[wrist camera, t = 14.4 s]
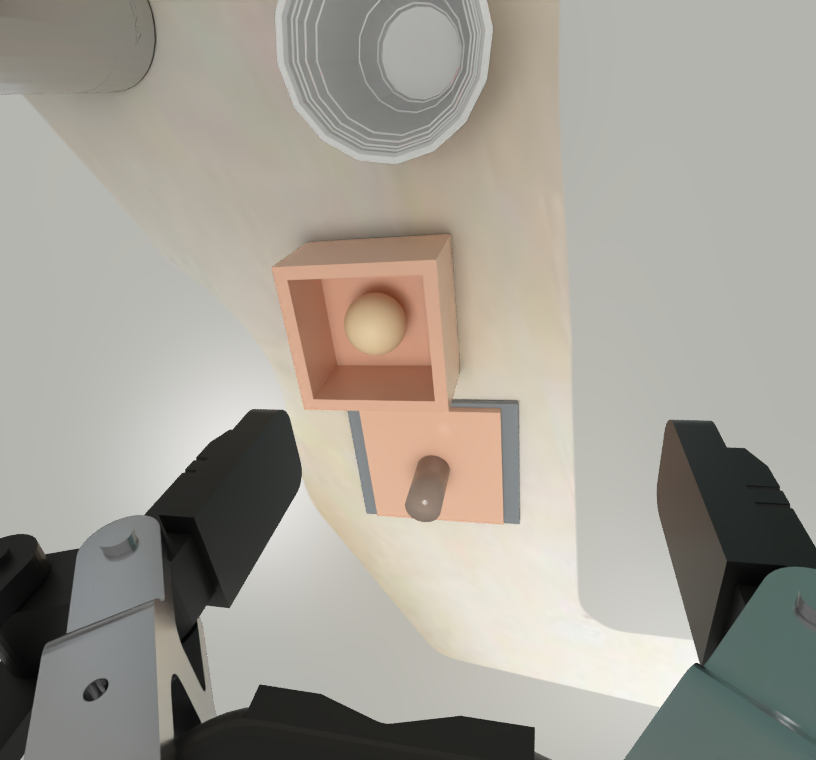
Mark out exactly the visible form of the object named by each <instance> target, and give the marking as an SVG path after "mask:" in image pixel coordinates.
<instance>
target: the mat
mask: <svg viewBox="0 0 816 760" xmlns="http://www.w3.org/2000/svg"><path fill="white" fill-rule="evenodd" d="M451 407H469V408H501V429H502V464H503V499H504V523H511V524H519V523H520V508H519V408H518V401H504V400H452V403H451ZM348 416H349V421H350V427H351V432H352V437H353V443H354V448H355V453H356V459H357V464H358V469H359V475H360V480H361V486H362V491H363V496H364V502H365V507H366V512H367V514H377V510H376V504H375V498H374V493H373V487H372V481H371V476H370V470H369V464H368V459H367V453H366V447H365V441H364V436H363V430H362V424H361V419H360V413H359V411H348Z"/></svg>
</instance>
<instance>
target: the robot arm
mask: <svg viewBox="0 0 816 760" xmlns="http://www.w3.org/2000/svg"><path fill="white" fill-rule="evenodd" d="M154 44H155V37H154V24H153V19H152V14H151V10H150V7H149V4H148V1H147V0H0V95H3V94H43V93H88V92H115V91H123V90H126V89H128V88H131V87H133V86H134V85H136V84H137V83H138V82H139V81H140V80H141V79H142V78H143V77H144V75H145V74H146V72H147V70H148V69H149V66H150V63H151V60H152V57H153V51H154ZM301 477H302V468H301V462H300V458H299V454H298V450H297V446H296V442H295V438H294V434H293V430H292V426H291V422H290V418H289V416H288V414H287V412H286V411H284V410H267V409H252V410H250V411H249V412H248V413H247V414H246V415H245V416H244V417H243V418H242V420H241V421H240V422H239V423H238V424H237V425H236V426H235V428H234V429H233V430H229V431H227V432H225V433H224V434H223V435H221V436H219V437H218V438H216V439H215V440H213V441H211V442H210V443H209V444H208V445H207V446H206V447H205V448H204V450H203V451H202V452H201V453H200V454H199V455H198V456H197V457H196V461H195V460H194V461H193V462H192V463H191V464H190V465H189V466H188V467H187V468H186V469H185V473H182V474H181V475H180V476H179V477H178V478H177V479H176V480H175V482H174V483H173V484H172V485H171V486H170V487H169V488H168V489H167V490H166V491H165V493H164V494H163V495H162V496H161V497H160V498H159V499H158V500H157V501H156V503H155V504H154V505H153V506H152V507H151V508H150V509H149V510H148V511H147V512H146V514H145V515H135V516H129V517H125V518H122V519H119V520H116V521H113V522H111V523H109V524H107V525H105V526H104V527H102V528H100V529H99V530H97V531H96V532H95V533H94V534H92V535H91V536H90V537H89V538H88V539H87V540H86V541H85V542H84V543H83V545H82V546H81V547H80V548H79V549H74V550H68V551H62V552H57V553H51V554H44V552H43V550H42V548H41V547H40V545H39V544H38V542H37V540H36V538H34V537H33V536H30V535H27V534H26V535H25V534H17V535H11V536H7V537H3V538H0V659H1V662H0V760H20V759H21V758H22V756H23V755H24V760H551V759H549V758H547V757H544V756H542V755H540V754H538V753H536V752H534V740H535V728H534V727H528V726H522V725H516V724H509V723H502V722H496V721H490V720H484V719H477V718H471V717H464V716H455V717H447V718H438V719H429V720H420V721H412V722H402V723H394V724H384V723H380V722H377V721H375V720H373V719H371V718H369V717H367V716H365V715H363V714H361V713H359V712H357V711H354V710H353V709H351V708H348V707H346V706H344V705H342V704H340V703H338V702H336V701H334V700H332V699H330V698H328V697H326V696H324V695H322V694H317V693H311V692H304V691H297V690H291V689H285V688H278V687H272V686H266V685H259V687H258V689H257V691H256V693H255V696H254V698H253V700H252V702H251V705H250V706H249V708H243V709H239V710H235V711H231V712H227V713H225V714H222V715H219V716H217V715H216V711H215V706H214V701H213V694H212V687H211V680H210V673H209V666H208V658H207V651H206V644H205V637H204V630H203V625H202V622H201V619H200V617H199V616H200V615H201V613H202V611H203V610H204V608H205V606H206V605H207V606H216V607H225V608H230V606H231V605H232V603H233V601H234V599H235V598H236V596H237V594H238V593H239V591H240V589H241V587H242V586H243V584H244V582H245V581H246V579H247V577H248V575H249V574H250V572H251V570H252V569H253V567H254V565H255V564H256V562H257V560H258V558H259V557H260V555H261V553H262V552H263V550H264V548H265V546H266V545H267V543H268V541H269V540H270V538H271V536H272V534H273V533H274V531H275V529H276V528H277V526H278V524H279V523H280V521H281V519H282V517H283V516H284V514H285V512H286V510H287V509H288V507H289V505H290V504H291V502H292V500H293V499H294V497H295V495H296V493H297V492H298V489H299V487H300V483H301ZM657 504H658V512H659V517H660V520H661V524H662V528H663V531H664V534H665V538H666V542H667V546H668V549H669V553H670V556H671V560H672V563H673V567H674V571H675V575H676V578H677V582H678V586H679V589H680V593H681V596H682V600H683V604H684V607H685V611H686V614H687V618H688V622H689V625H690V629H691V633H692V636H693V640H694V644H695V647H696V651H697V655H698V658H699V662H700V664H698V663H695V664H694V665H692V666H691V667H690V668H689V669H688V670H687V672H686V673H685V674H684V676H683V677H682V678H681V680H680V681H679V682H678V684H677V685H676V687H675V688H674V689H673V691H672V692H671V694H670V695H669V697H668V698H667V699H666V701H665V702H664V704H663V705H662V706H661V708H660V710H659V711H658V712H657V714H656V715H655V716H654V718H653V719H652V721H651V722H650V723H649V725H648V726H647V728H646V729H645V731H644V732H643V733H642V735H641V736H640V738H639V739H638V740H637V742H636V743H635V745H634V746H633V747H632V749H631V750H630V752H629V753H628V754H627V756H626V757H625V759H624V760H816V547H815V545H814V544H813V542H812V540H811V539H810V537H809V535H808V534H807V532H806V530H805V528H804V527H803V525H802V523H801V522H800V520H799V519H798V517H797V515H796V513H795V512H794V510H793V509H792V508H790V503H789V501H788V500H787V498H786V496H785V495H784V493H783V491H780V486H779V484H778V483H777V481H776V479H775V478H774V476H773V474H772V473H771V471H770V469H769V468H768V466H767V465H765V464H764V463H763V462H762V461H760V460H759V459H758V458H757V457H755V456H754V455H753V454H751V453H750V452H749V451H748V450H746V449H745V448H727V447H726V445H725V443H724V441H723V439H722V437H721V435H720V433H719V431H718V430H717V428H716V426H715V424H714V423H713V422H712V421H698V420H669V421H668V422H667V424H666V428H665V433H664V440H663V447H662V454H661V461H660V468H659V475H658V483H657Z"/></svg>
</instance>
